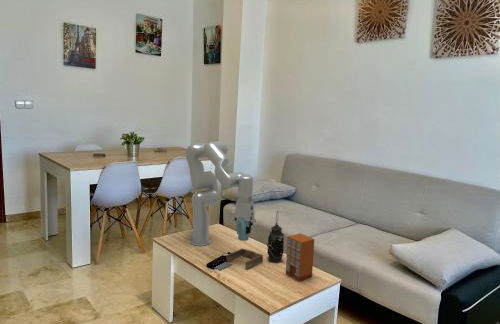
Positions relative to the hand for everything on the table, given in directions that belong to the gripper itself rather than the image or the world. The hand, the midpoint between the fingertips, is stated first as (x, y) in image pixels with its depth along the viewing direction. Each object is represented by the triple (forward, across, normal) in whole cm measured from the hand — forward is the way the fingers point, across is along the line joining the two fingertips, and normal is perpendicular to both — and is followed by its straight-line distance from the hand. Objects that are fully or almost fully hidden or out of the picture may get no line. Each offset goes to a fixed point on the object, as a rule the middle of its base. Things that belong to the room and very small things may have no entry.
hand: (243, 231), depth 203 cm
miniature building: (+17, -31, -6) cm, 36 cm away
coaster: (+17, +6, +11) cm, 21 cm away
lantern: (+17, -11, -15) cm, 25 cm away
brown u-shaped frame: (+17, -1, -1) cm, 17 cm away
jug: (+4, 0, +1) cm, 4 cm away
